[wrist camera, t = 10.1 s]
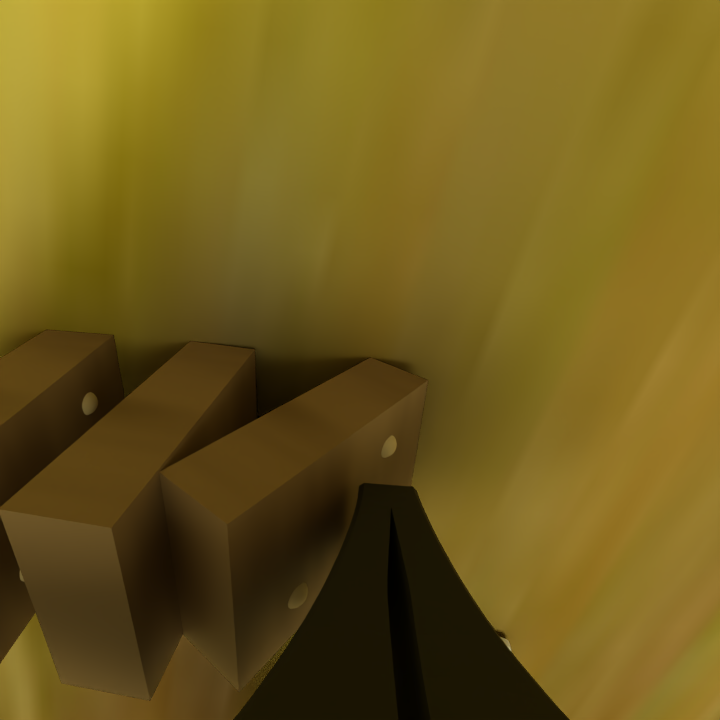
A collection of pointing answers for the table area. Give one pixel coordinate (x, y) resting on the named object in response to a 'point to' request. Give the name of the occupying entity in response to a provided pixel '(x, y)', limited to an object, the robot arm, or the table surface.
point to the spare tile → (282, 509)
